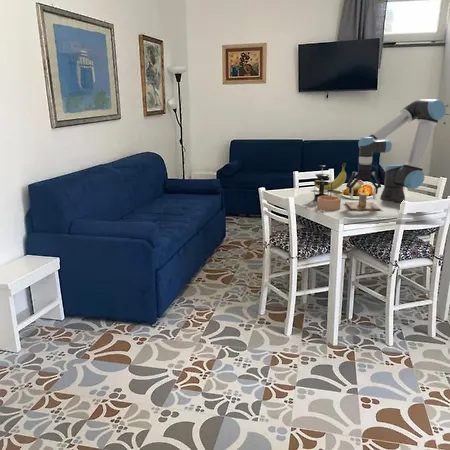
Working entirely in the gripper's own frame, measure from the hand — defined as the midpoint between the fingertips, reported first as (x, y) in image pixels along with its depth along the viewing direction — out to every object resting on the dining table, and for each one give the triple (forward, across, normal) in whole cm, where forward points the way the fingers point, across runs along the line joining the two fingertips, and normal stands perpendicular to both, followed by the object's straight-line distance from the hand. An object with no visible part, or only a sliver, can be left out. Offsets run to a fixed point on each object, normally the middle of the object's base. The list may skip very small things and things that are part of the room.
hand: (362, 199), depth 268 cm
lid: (+5, 0, 0) cm, 5 cm away
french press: (+6, +21, -23) cm, 32 cm away
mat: (+6, 0, 0) cm, 6 cm away
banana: (+6, +11, -57) cm, 58 cm away
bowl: (+6, +20, 0) cm, 21 cm away
